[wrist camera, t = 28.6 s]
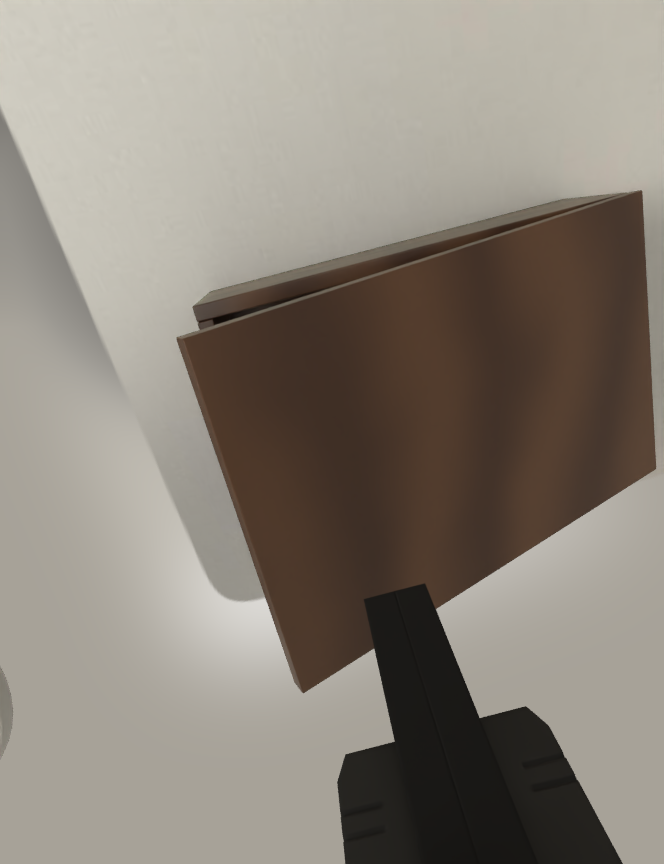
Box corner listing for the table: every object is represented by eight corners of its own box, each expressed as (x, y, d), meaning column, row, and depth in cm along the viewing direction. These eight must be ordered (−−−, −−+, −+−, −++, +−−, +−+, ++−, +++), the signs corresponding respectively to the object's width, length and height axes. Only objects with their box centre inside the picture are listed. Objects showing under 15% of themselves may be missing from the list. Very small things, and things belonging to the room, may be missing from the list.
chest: (276, 505, 39) (274, 559, 33) (209, 291, 34) (191, 306, 28) (585, 425, 39) (644, 464, 32) (563, 198, 34) (629, 191, 27)
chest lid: (294, 682, 23) (302, 694, 23) (175, 337, 18) (182, 338, 18) (643, 465, 32) (656, 469, 32) (626, 192, 27) (642, 189, 27)
